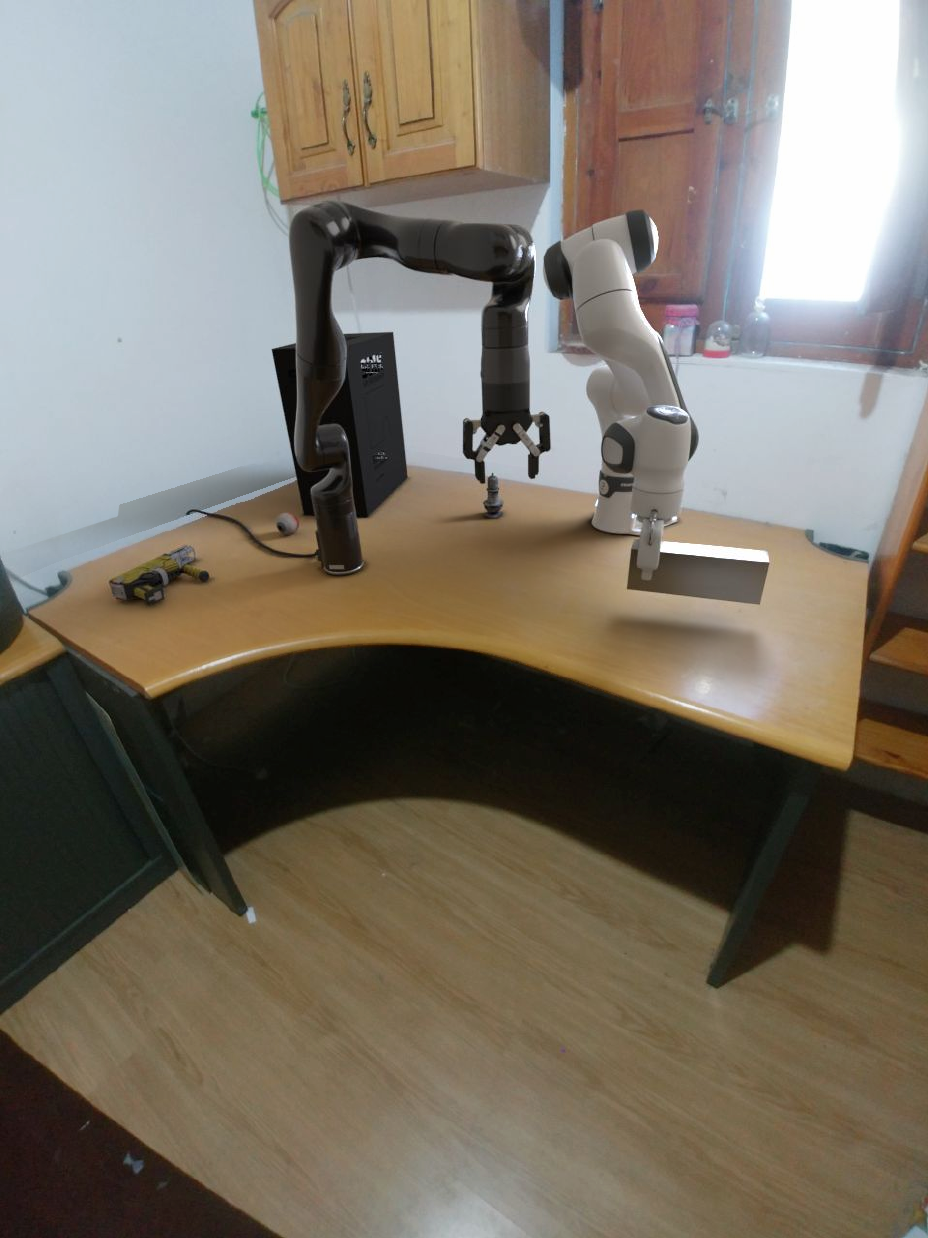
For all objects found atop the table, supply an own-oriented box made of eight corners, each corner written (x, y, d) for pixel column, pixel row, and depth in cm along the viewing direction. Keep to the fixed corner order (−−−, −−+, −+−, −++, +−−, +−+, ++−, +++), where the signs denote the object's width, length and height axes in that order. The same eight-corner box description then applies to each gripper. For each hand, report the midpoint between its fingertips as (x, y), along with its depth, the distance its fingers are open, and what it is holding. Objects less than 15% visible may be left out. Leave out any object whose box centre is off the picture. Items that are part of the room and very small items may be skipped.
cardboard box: (367, 516, 174) (344, 346, 151) (303, 514, 178) (271, 348, 156) (407, 477, 205) (393, 331, 183) (352, 476, 210) (331, 334, 187)
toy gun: (232, 553, 147) (182, 542, 151) (158, 593, 127) (102, 580, 131) (234, 570, 150) (185, 559, 154) (162, 613, 130) (107, 599, 134)
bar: (626, 589, 116) (631, 548, 112) (629, 577, 120) (634, 538, 116) (759, 605, 109) (769, 562, 105) (758, 592, 113) (767, 550, 109)
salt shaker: (502, 518, 167) (501, 475, 161) (481, 517, 168) (480, 475, 162) (505, 511, 172) (504, 469, 166) (485, 510, 173) (483, 469, 167)
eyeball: (273, 537, 164) (268, 516, 161) (287, 528, 169) (282, 508, 166) (291, 539, 161) (286, 518, 158) (305, 530, 166) (301, 510, 163)
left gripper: (464, 384, 89) (469, 491, 97) (557, 377, 91) (554, 482, 99) (456, 377, 96) (461, 478, 104) (543, 370, 97) (541, 469, 105)
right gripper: (672, 523, 99) (661, 597, 106) (676, 486, 116) (667, 552, 123) (633, 520, 101) (625, 593, 108) (642, 484, 118) (635, 549, 125)
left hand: (507, 480), depth 101 cm, fingers open, 8 cm apart
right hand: (647, 571), depth 116 cm, fingers closed on bar, 5 cm apart
